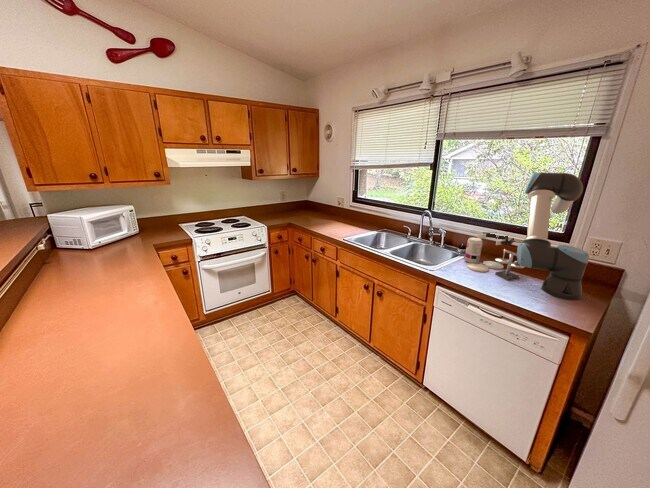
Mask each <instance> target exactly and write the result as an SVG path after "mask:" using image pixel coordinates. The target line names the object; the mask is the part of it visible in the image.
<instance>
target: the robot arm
mask: <svg viewBox="0 0 650 488" xmlns="http://www.w3.org/2000/svg"><path fill="white" fill-rule="evenodd" d="M583 191H584V186H583V182H582V181H581V179H580V178H579V177H578V176H576V175H575V174H572V173H568V172H564V173H563V172H532V174H530V175H529V178H528V180H527V183H526V187H525V190H524V194H526V195H527V198H528V199H529V200H530V205H529V219H528V227H527V235H526V239H524V240H521V243H518V245H517V251H516V254H517V256H516V259H517V260H516V261H518V264H519V265H521V266H524V268H529V269H535V270H542V271H550V272H549V275H548V276H547V277H546V279H545V280H544V281H543V282H542V285H541V290H542V291H543V292H544V293H546V294H549V296H553V297H556V298H560V299H564V300H572V301H577V300H581V299H582V295H583V288H582V280H583V277H584V274H585V273H586V268H587V265H588V263H589V260H590V255H589V253H588V251H585V250H584V249H581V248H579V247H575V246H571V245H569V244H568V245H567V244H559V245H558V246H557V247H553V246H552V245H551V244H552V243H551V241H550V240H548V239H549V238H548V237H549V229H548V228H549V218H550V208H551V210H552V212H553V213H556V214H557V213H558V214H559V213H562V212H564V211H566V210H567V209H568V210H569V208H570V207H571V205H572V204H573V202H575V201H576V200H578V199H579V198H580V197H581V195H582V194H583ZM555 197H556V198H555ZM553 199H554V201H553V202H552V200H553ZM551 206H552V207H551ZM569 206H570V207H569ZM568 207H569V208H568ZM568 210H567V211H568ZM567 211H566V212H567ZM490 233H491V232H485V231H484V232H482V233H480V234H477V237H476V238H480V239H486V238H490V239H496V242H495V246H500V245H508V246H511V245H513V243H515V242H516V241H515V240H514V238H512V239H511V240H510V241H508V236H505V237H504V236H499V237H498V236H497V237H496V235H495V234H490ZM497 238H498V239H497ZM500 239H502V240H500Z"/></svg>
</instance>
